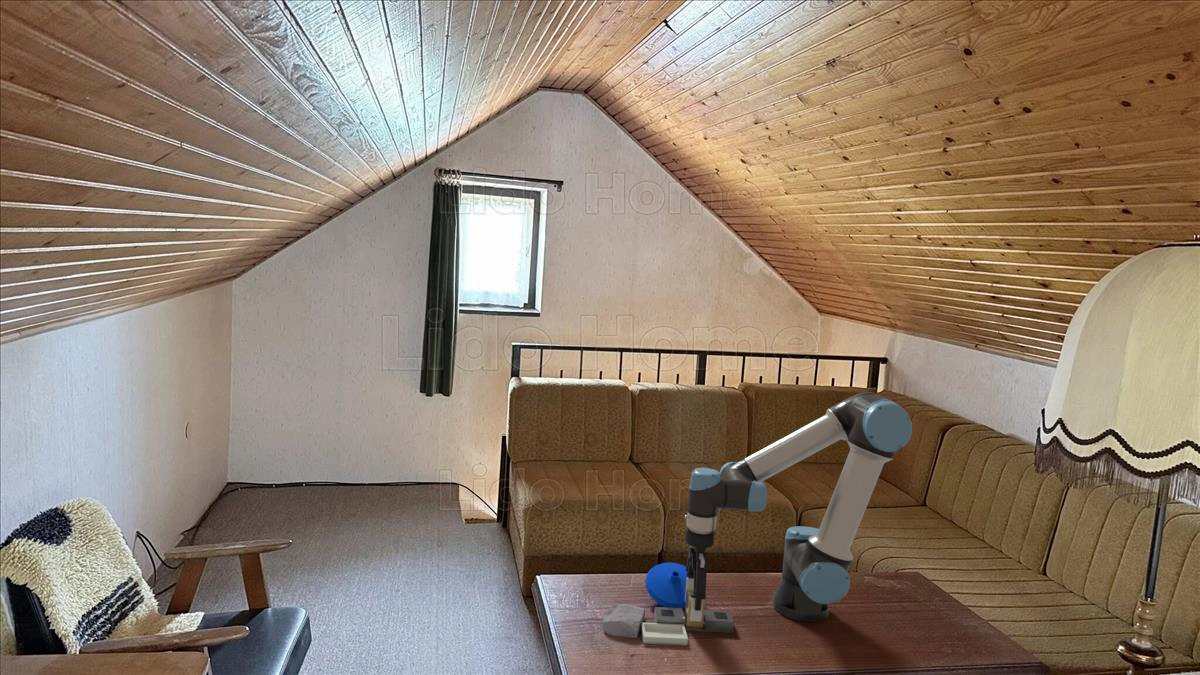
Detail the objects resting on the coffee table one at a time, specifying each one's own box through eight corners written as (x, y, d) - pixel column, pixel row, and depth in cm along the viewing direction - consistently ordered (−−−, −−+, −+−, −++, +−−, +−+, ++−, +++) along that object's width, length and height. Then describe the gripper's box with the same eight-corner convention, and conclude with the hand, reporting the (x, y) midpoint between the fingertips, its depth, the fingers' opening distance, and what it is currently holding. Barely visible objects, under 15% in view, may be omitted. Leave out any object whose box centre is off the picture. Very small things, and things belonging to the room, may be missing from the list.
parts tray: (683, 631, 186) (683, 624, 185) (687, 645, 179) (687, 638, 178) (640, 629, 185) (641, 622, 185) (643, 643, 178) (643, 636, 178)
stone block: (601, 641, 182) (640, 640, 180) (598, 622, 182) (637, 621, 180) (610, 620, 194) (647, 619, 191) (608, 602, 193) (645, 601, 191)
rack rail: (728, 621, 192) (729, 610, 192) (733, 633, 186) (734, 621, 186) (653, 617, 191) (654, 606, 191) (656, 629, 186) (657, 618, 185)
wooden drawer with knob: (699, 621, 191) (702, 589, 190) (702, 629, 187) (705, 596, 186) (683, 620, 191) (686, 588, 190) (686, 629, 187) (688, 595, 186)
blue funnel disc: (663, 561, 211) (667, 544, 208) (710, 590, 203) (714, 572, 200) (632, 593, 200) (635, 575, 197) (680, 625, 192) (684, 607, 189)
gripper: (680, 512, 197) (673, 590, 199) (692, 545, 175) (684, 632, 178) (707, 513, 197) (700, 591, 200) (723, 547, 175) (714, 634, 178)
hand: (692, 610), depth 189 cm, fingers open, 9 cm apart
